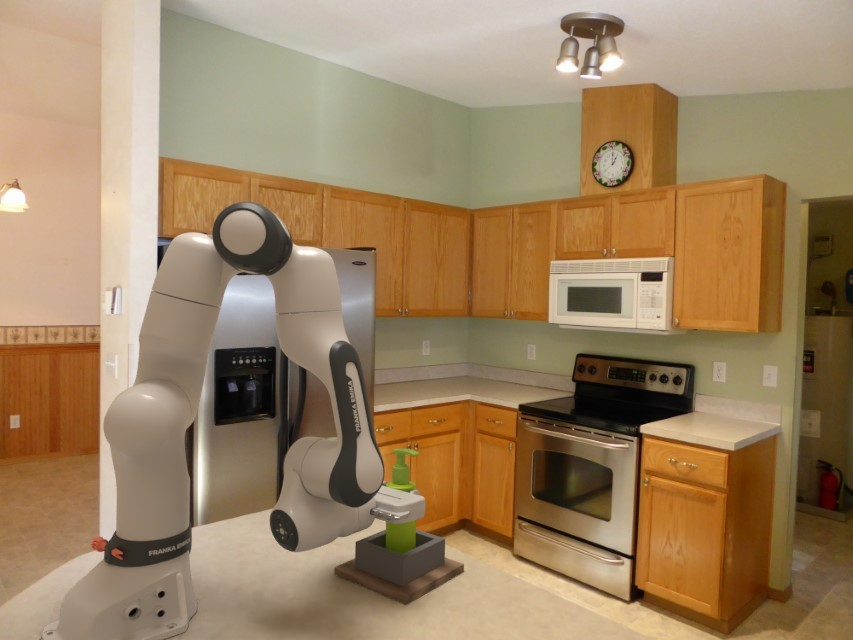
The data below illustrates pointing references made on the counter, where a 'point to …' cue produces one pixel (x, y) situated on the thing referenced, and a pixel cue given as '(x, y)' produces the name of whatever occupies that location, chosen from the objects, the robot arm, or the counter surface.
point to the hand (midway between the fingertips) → (402, 489)
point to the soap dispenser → (404, 534)
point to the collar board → (400, 567)
